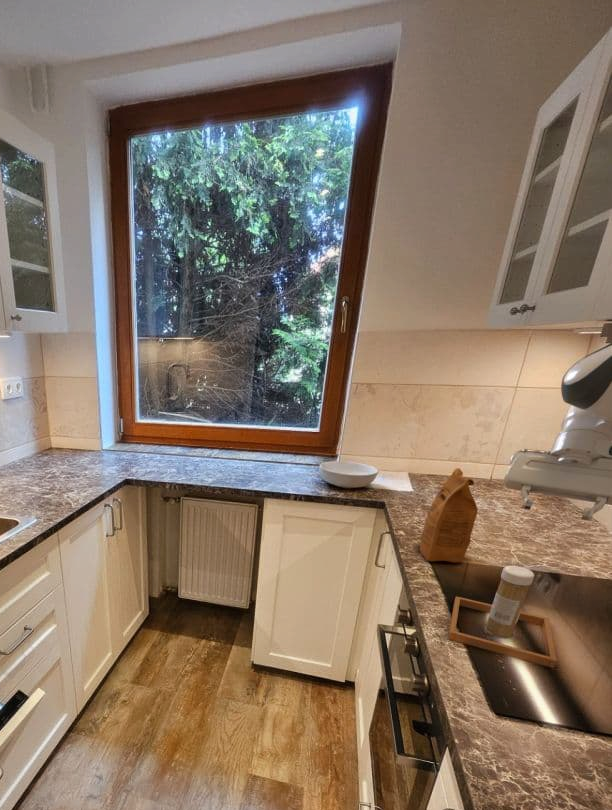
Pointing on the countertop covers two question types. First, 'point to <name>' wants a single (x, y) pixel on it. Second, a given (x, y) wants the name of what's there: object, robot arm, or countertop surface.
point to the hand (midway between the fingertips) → (555, 513)
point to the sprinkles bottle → (508, 601)
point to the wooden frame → (501, 648)
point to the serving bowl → (347, 474)
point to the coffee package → (450, 521)
